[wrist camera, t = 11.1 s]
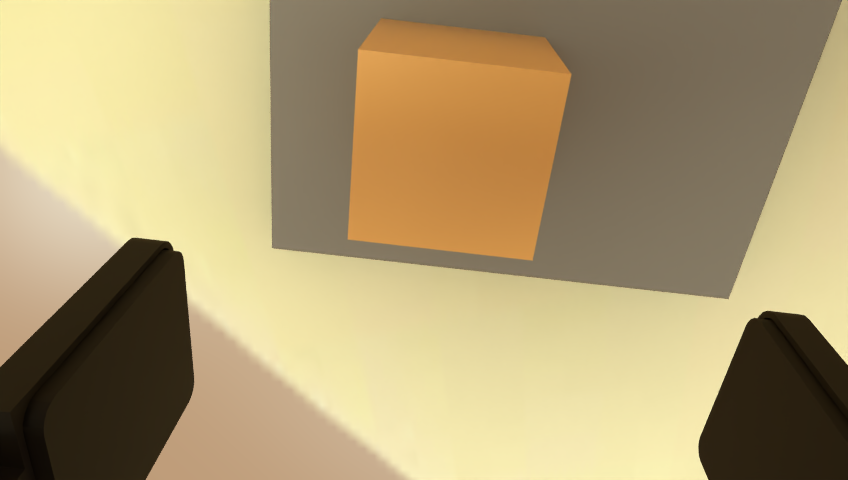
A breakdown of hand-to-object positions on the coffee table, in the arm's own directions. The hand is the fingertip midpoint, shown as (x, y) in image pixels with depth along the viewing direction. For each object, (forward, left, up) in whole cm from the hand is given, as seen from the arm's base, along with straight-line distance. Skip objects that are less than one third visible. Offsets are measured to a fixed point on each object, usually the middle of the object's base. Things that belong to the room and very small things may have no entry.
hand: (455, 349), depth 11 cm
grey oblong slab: (-3, 0, -17) cm, 17 cm away
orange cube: (0, 0, -15) cm, 15 cm away
